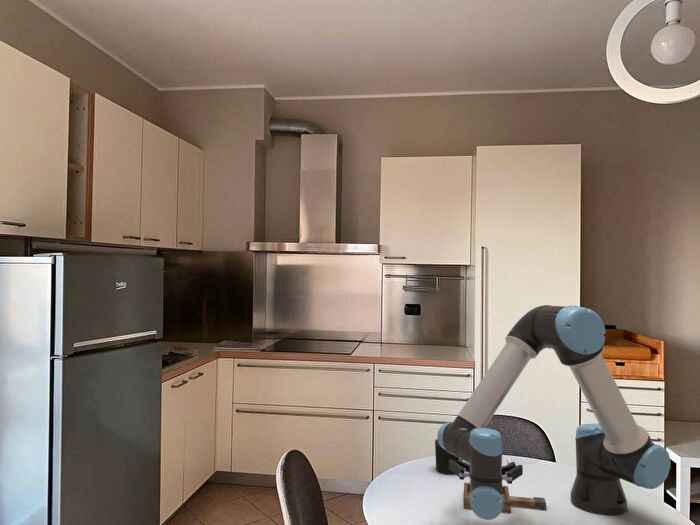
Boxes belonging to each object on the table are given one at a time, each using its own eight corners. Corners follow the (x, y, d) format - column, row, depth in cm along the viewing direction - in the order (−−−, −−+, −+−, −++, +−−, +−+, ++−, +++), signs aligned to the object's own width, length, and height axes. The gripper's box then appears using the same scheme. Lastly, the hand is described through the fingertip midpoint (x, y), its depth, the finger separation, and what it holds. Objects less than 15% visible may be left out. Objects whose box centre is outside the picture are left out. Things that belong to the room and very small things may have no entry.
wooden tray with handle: (542, 499, 162) (542, 488, 162) (548, 516, 149) (548, 505, 149) (464, 492, 167) (464, 482, 167) (463, 508, 154) (463, 497, 154)
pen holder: (436, 474, 183) (436, 444, 183) (434, 466, 192) (434, 437, 193) (464, 475, 182) (464, 445, 183) (460, 466, 191) (460, 438, 192)
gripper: (436, 493, 142) (442, 468, 163) (536, 502, 136) (529, 475, 157) (436, 464, 142) (442, 442, 163) (536, 472, 137) (528, 449, 157)
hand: (484, 458), depth 160 cm, fingers open, 13 cm apart
